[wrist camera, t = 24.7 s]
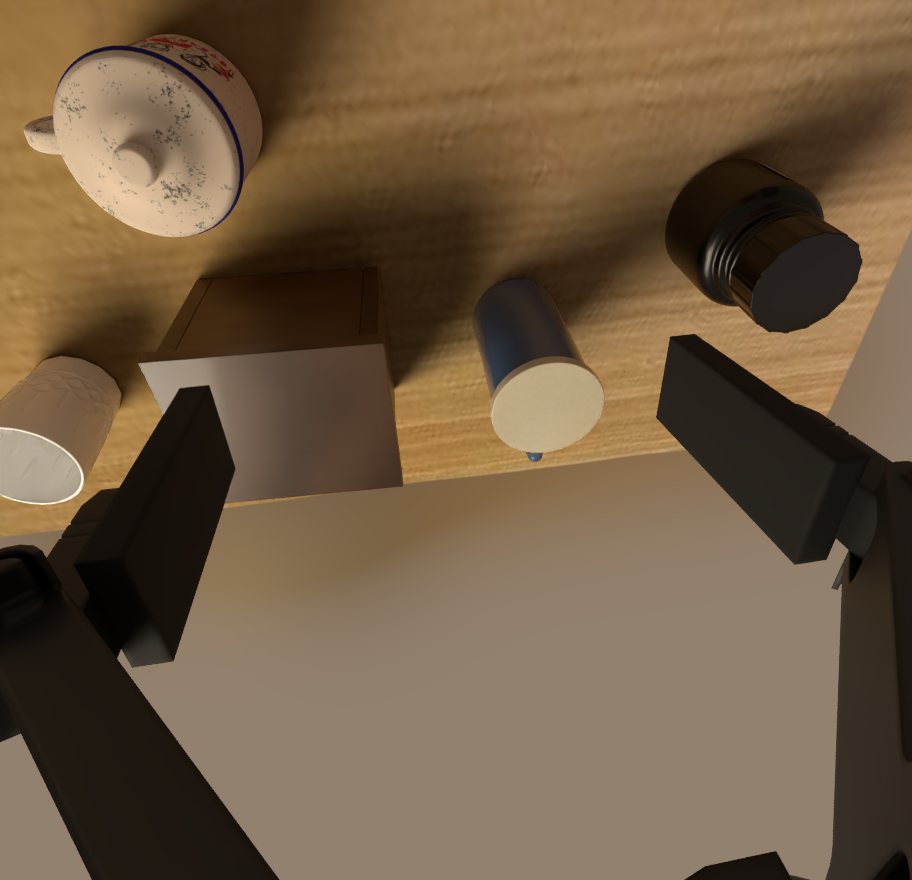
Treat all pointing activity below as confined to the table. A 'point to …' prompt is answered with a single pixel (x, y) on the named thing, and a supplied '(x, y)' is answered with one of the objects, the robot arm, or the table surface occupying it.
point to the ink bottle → (761, 245)
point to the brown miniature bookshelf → (289, 379)
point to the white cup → (54, 429)
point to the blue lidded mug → (534, 370)
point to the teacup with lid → (155, 132)
